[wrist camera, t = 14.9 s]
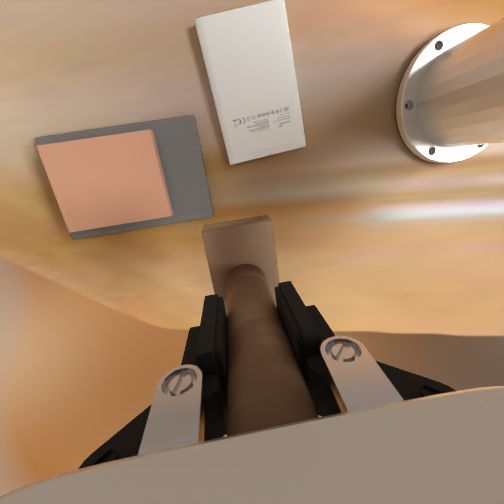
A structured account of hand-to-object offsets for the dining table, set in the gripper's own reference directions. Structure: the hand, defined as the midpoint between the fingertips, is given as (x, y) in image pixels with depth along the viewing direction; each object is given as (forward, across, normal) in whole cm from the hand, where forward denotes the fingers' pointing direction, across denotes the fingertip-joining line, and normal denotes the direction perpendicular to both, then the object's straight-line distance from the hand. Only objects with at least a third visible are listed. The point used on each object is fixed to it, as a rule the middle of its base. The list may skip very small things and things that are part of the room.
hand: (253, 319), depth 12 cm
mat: (+19, +10, -7) cm, 22 cm away
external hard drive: (+19, -4, -14) cm, 24 cm away
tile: (+17, +6, -7) cm, 20 cm away
